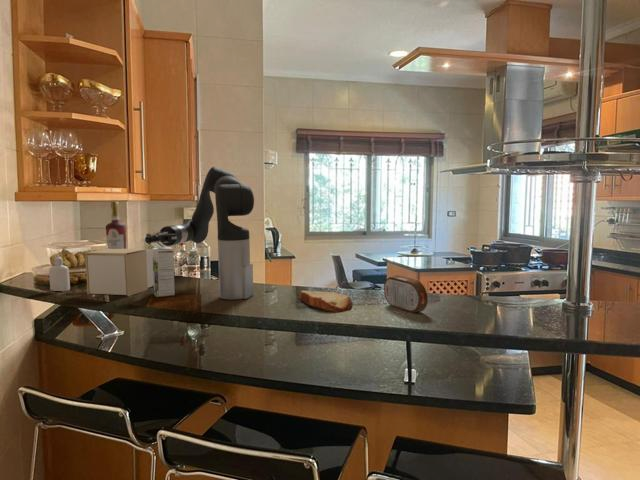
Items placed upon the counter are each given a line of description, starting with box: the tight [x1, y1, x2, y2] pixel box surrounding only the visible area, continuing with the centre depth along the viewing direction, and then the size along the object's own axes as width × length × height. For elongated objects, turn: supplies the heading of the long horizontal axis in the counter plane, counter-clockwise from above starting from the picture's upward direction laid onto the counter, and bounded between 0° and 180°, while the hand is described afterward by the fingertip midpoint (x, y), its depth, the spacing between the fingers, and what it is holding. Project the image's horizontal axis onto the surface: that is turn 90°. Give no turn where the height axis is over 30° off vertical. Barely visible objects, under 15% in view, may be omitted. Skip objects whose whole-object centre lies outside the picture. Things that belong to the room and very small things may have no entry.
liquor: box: [105, 201, 127, 249], centre depth 185 cm, size 7×7×28 cm
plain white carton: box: [87, 248, 154, 296], centre depth 155 cm, size 13×17×12 cm
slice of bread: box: [298, 290, 354, 313], centre depth 133 cm, size 18×18×4 cm
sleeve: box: [84, 248, 149, 297], centre depth 152 cm, size 15×10×13 cm
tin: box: [383, 274, 429, 314], centre depth 125 cm, size 15×3×8 cm, turn 30°
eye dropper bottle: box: [48, 253, 71, 293], centre depth 155 cm, size 4×6×12 cm
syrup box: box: [152, 246, 176, 298], centre depth 147 cm, size 6×6×14 cm
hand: (147, 240), depth 168 cm, fingers closed
